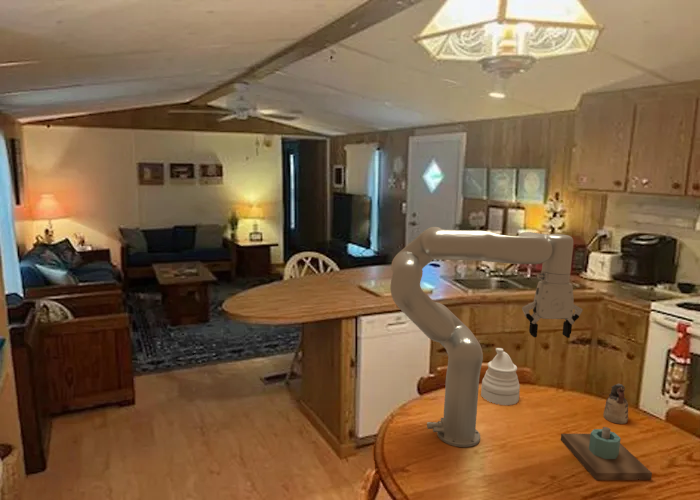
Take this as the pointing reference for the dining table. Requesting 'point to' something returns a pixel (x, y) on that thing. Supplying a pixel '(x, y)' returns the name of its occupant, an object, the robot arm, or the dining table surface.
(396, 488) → the dining table surface
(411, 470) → the dining table surface
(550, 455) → the dining table surface
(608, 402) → the figurine
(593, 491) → the dining table surface
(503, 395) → the honey pot
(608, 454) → the bead
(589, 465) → the rod stand
